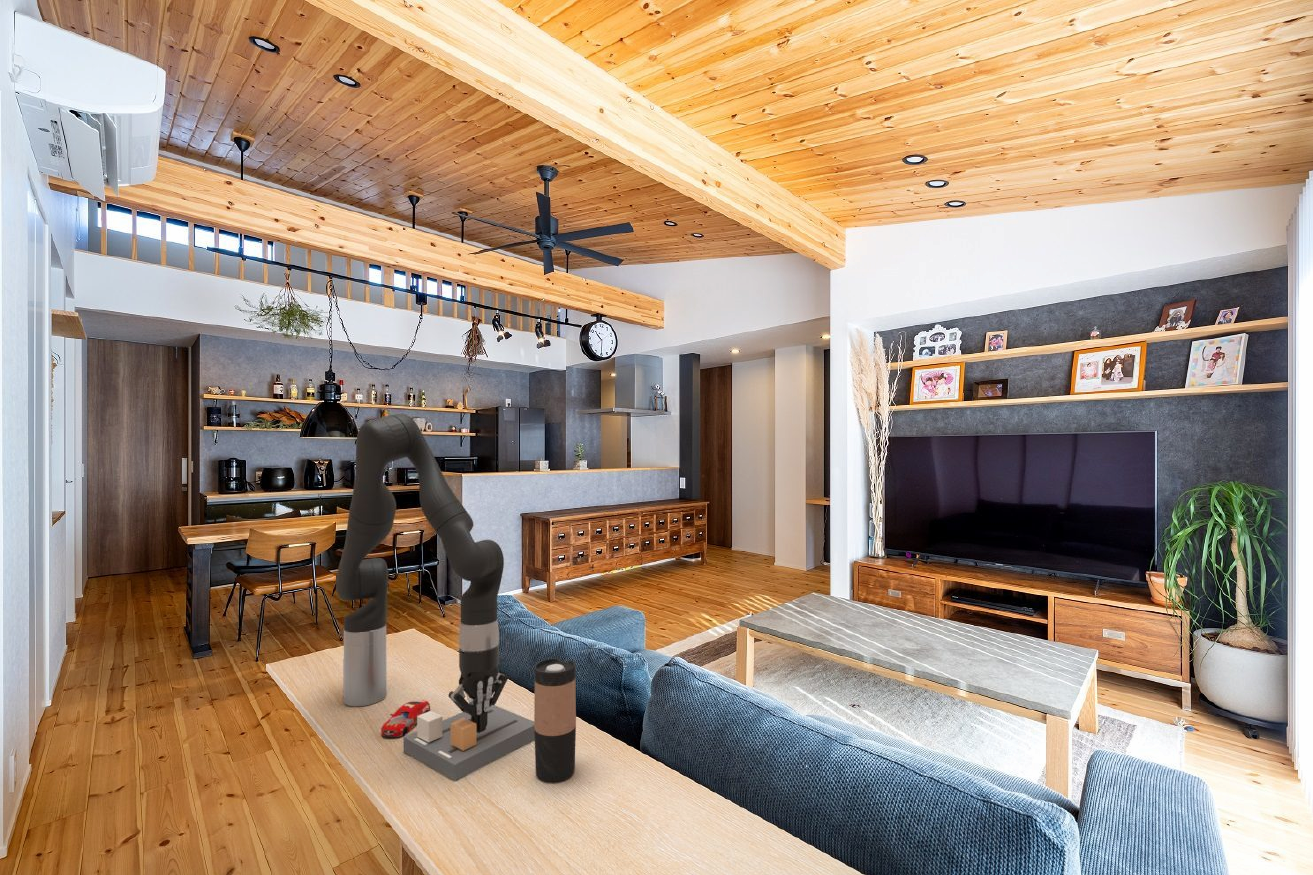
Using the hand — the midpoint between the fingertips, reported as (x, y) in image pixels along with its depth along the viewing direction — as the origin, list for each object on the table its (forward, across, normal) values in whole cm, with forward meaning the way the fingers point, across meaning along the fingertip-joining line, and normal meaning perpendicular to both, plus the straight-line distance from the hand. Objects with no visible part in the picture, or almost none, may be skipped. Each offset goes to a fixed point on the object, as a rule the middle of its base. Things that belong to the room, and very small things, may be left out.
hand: (479, 730), depth 119 cm
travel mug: (+5, -4, +17) cm, 18 cm away
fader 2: (+1, +4, 0) cm, 4 cm away
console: (+4, -1, -4) cm, 6 cm away
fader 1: (+1, +6, -8) cm, 10 cm away
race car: (+5, +2, -23) cm, 24 cm away
